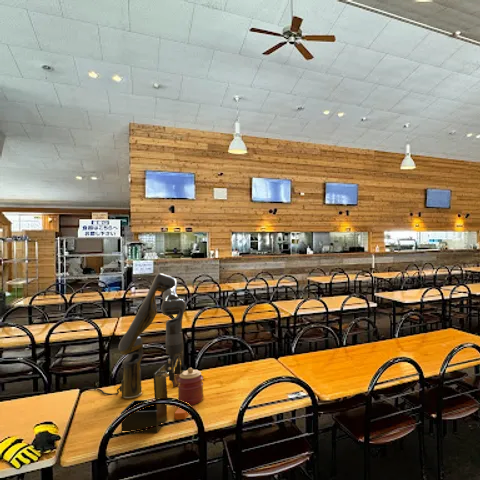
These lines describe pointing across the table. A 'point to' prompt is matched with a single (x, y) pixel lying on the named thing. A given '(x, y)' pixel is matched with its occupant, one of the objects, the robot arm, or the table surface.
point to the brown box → (175, 381)
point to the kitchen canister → (190, 386)
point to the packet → (180, 414)
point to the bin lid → (160, 384)
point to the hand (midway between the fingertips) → (175, 376)
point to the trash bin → (144, 418)
